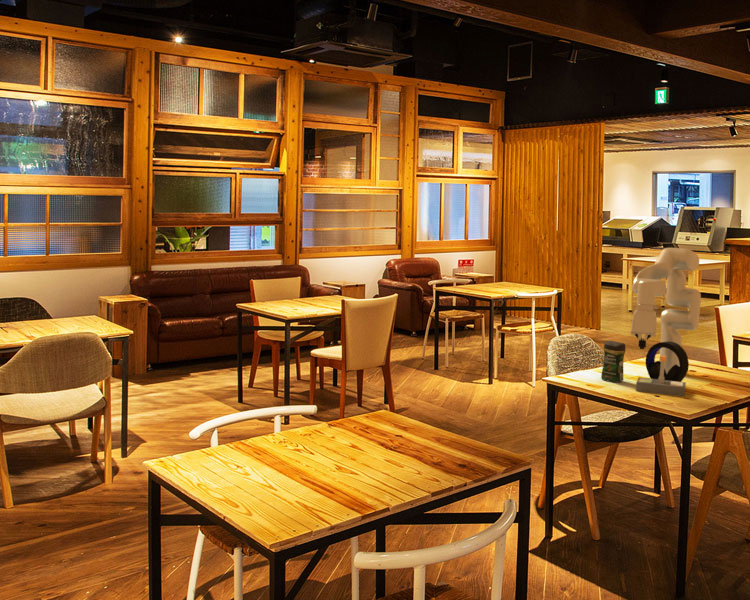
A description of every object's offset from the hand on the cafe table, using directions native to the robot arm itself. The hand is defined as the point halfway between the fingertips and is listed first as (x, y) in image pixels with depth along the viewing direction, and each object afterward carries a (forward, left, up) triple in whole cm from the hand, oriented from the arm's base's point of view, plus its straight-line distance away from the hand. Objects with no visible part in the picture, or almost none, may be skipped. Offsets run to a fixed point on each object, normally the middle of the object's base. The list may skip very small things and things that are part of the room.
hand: (641, 348), depth 345 cm
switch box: (0, +9, -18) cm, 20 cm away
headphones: (-14, +10, -19) cm, 26 cm away
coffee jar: (-10, -13, -19) cm, 25 cm away
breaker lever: (0, +9, -13) cm, 16 cm away
